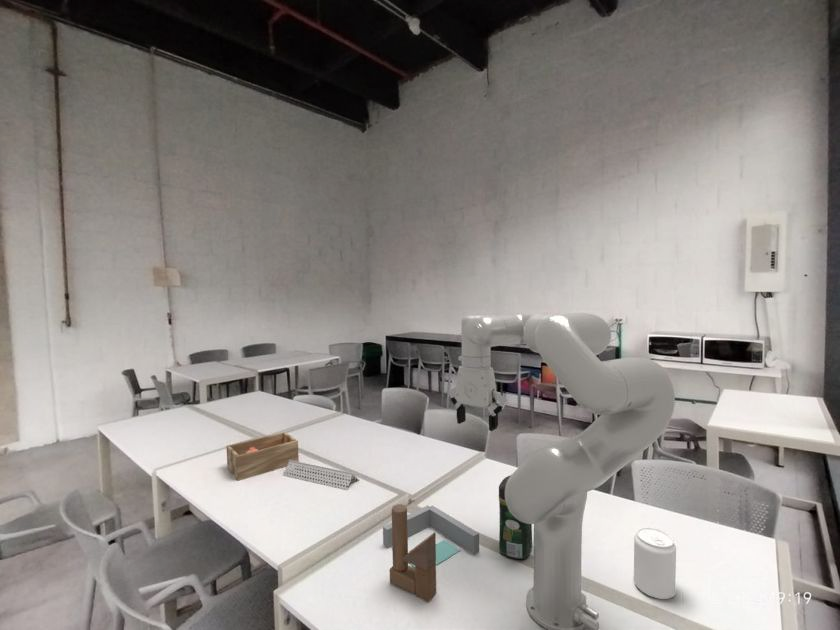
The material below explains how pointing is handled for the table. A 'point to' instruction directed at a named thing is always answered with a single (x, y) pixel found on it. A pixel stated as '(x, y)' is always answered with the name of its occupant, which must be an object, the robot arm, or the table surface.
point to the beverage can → (654, 562)
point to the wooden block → (412, 559)
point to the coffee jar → (512, 530)
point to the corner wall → (437, 528)
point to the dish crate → (261, 455)
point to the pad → (443, 551)
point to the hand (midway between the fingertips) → (476, 425)
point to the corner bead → (321, 471)
